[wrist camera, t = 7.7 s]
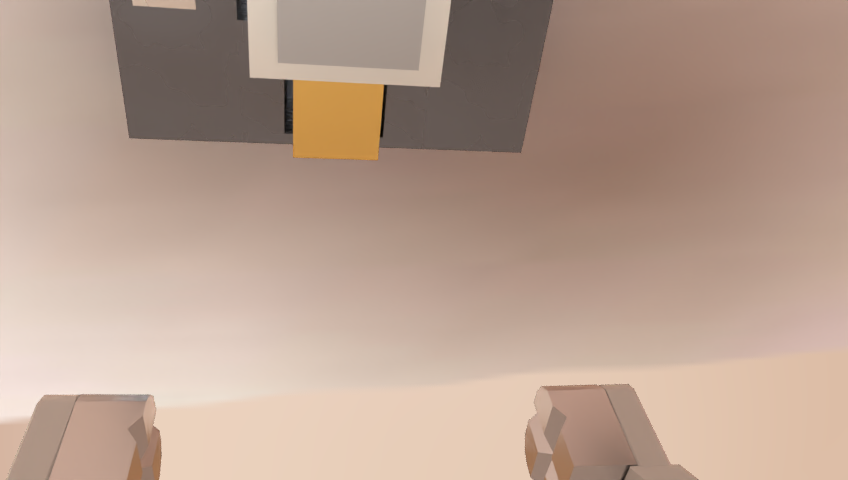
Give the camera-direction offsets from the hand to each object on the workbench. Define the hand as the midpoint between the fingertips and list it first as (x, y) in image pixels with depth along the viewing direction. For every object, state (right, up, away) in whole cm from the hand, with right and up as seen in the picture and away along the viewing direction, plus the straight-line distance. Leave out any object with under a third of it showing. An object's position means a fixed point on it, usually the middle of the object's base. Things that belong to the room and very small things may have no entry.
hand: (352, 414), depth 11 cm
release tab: (-2, +8, +11) cm, 14 cm away
